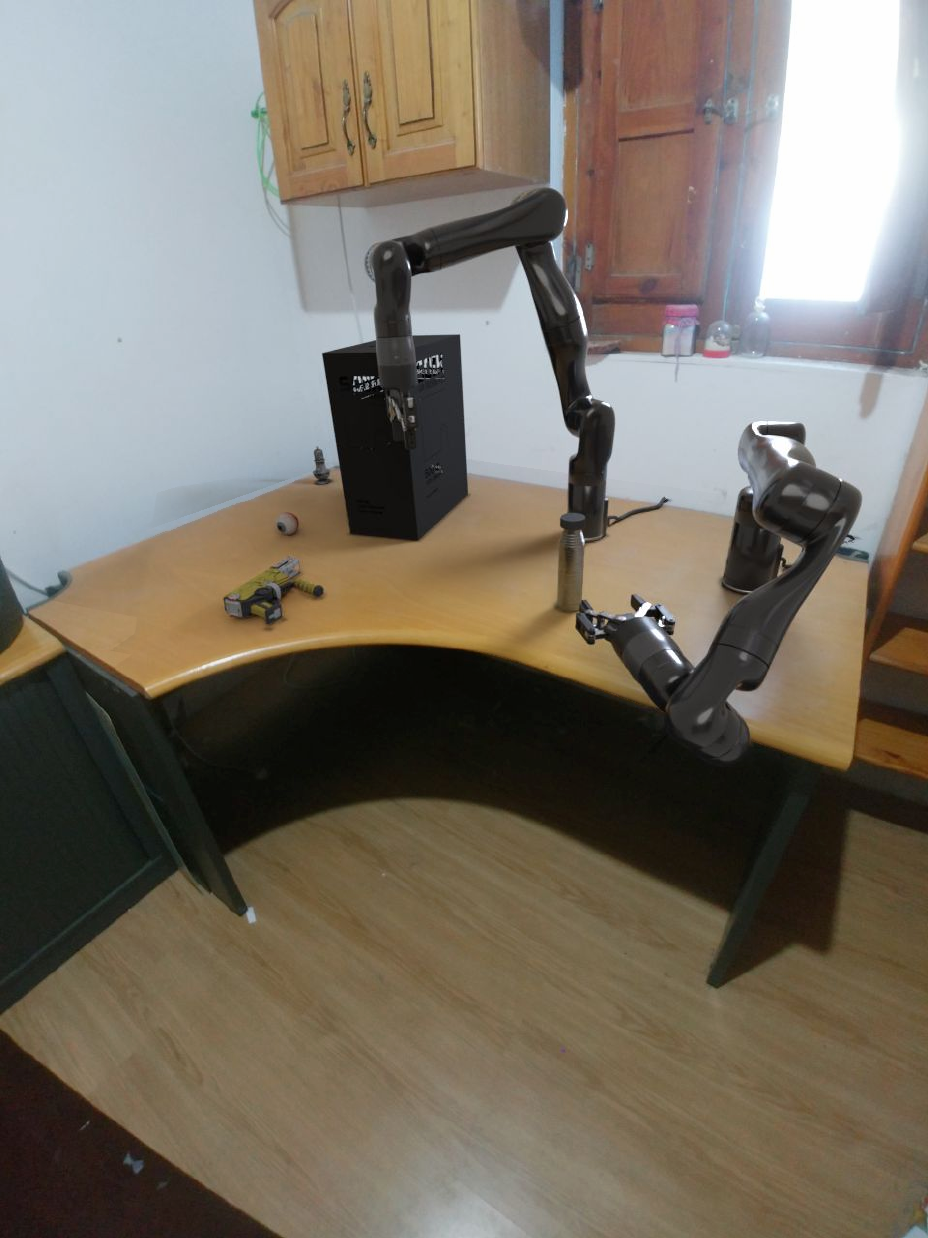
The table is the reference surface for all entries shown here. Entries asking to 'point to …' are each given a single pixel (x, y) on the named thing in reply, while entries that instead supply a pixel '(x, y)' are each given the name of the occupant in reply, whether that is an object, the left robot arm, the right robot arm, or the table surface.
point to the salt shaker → (320, 468)
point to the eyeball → (287, 523)
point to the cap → (572, 521)
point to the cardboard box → (389, 473)
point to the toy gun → (267, 592)
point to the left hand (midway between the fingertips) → (404, 444)
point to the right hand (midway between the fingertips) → (607, 601)
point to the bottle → (570, 570)
